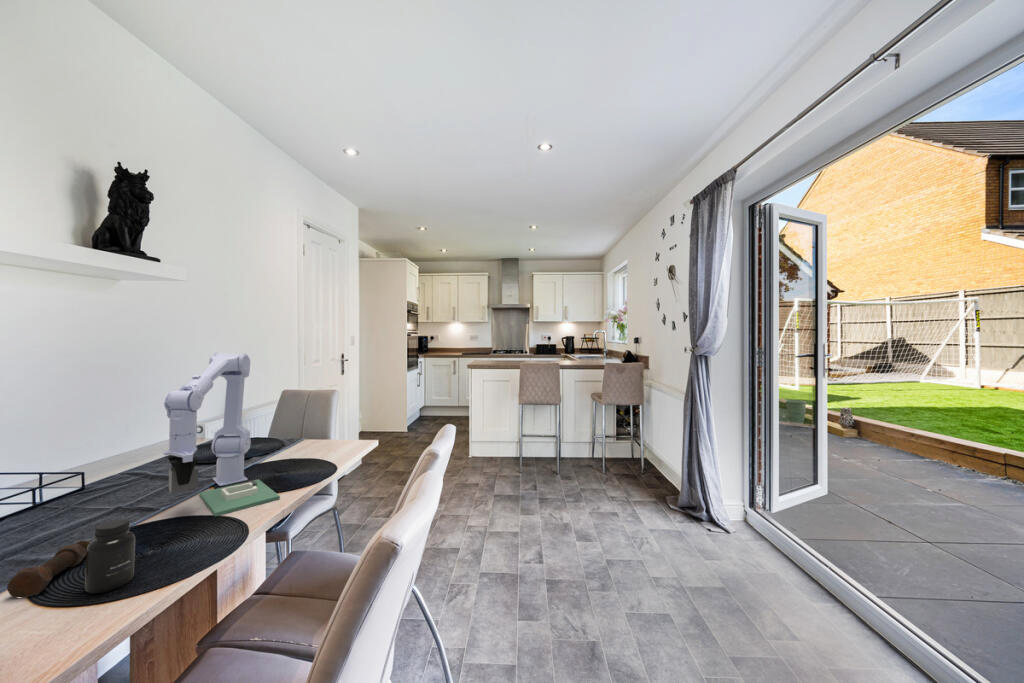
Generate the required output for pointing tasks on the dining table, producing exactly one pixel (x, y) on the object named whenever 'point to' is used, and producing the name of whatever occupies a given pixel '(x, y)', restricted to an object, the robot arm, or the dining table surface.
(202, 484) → the dining table surface
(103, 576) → the supplement bottle
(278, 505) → the dining table surface
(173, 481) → the plug
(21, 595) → the brown elongated piece
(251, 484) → the header board
